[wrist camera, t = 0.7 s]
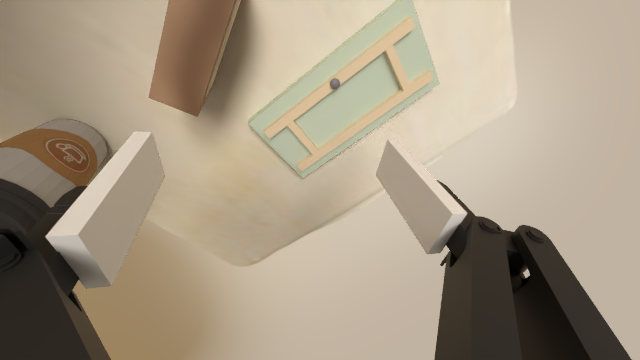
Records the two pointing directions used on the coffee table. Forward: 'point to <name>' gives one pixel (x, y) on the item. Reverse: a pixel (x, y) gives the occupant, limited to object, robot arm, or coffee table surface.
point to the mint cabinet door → (350, 90)
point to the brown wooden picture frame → (191, 51)
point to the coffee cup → (45, 168)
